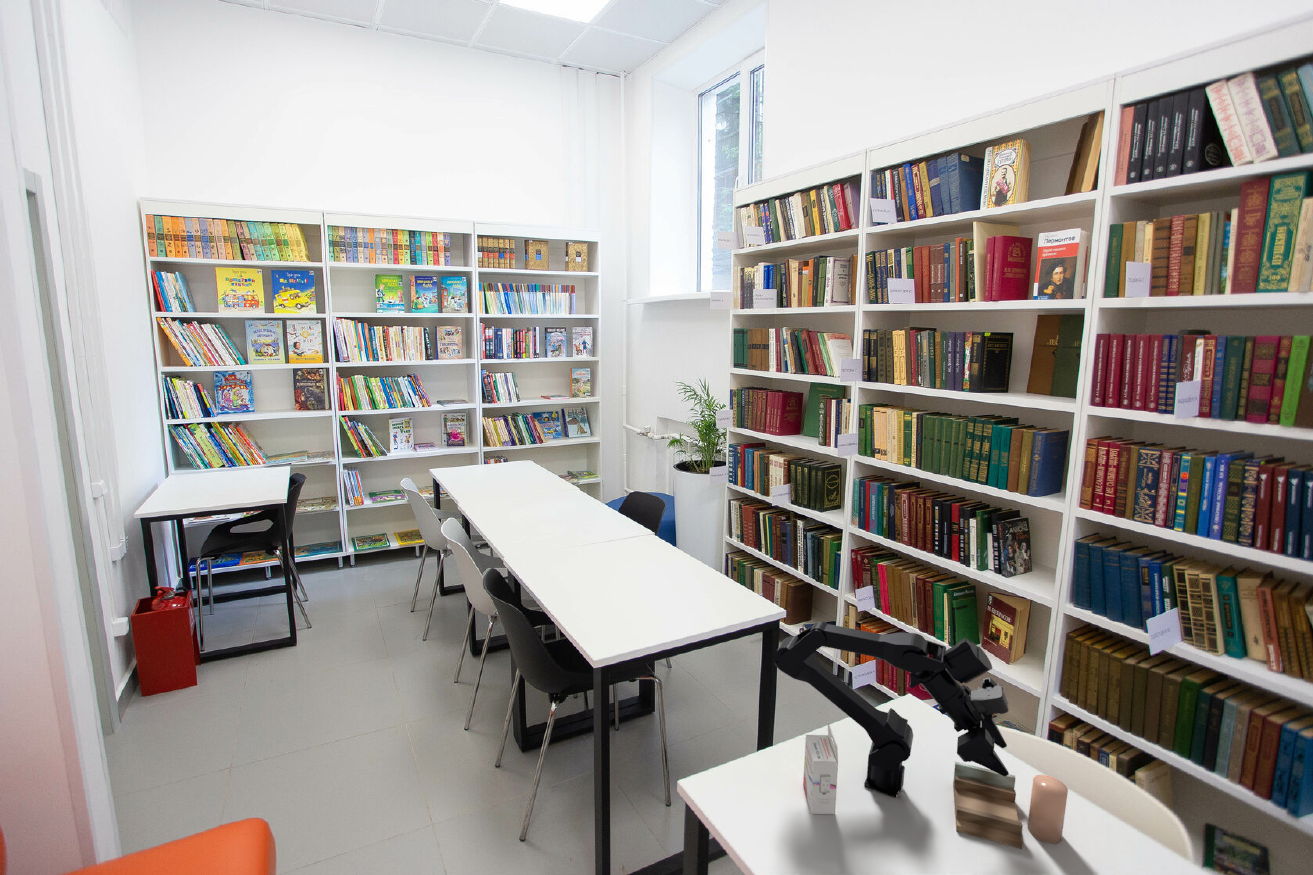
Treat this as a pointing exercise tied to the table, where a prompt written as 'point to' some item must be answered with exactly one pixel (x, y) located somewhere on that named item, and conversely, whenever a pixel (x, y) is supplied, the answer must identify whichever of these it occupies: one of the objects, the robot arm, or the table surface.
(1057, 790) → the peach pink cylinder
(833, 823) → the table surface
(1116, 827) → the table surface
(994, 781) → the walnut shelf
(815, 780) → the ink cartridge box
